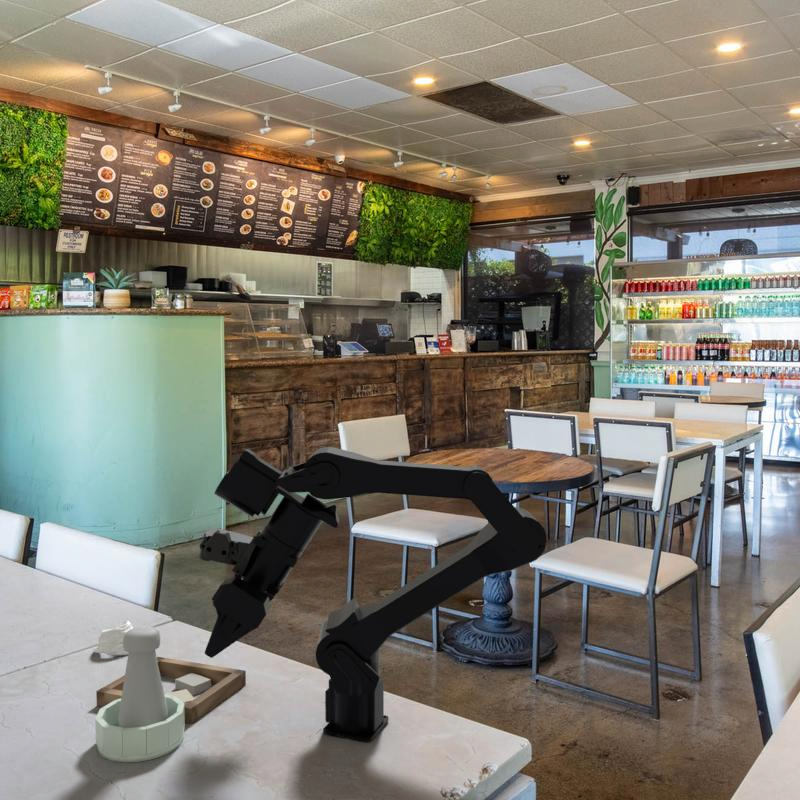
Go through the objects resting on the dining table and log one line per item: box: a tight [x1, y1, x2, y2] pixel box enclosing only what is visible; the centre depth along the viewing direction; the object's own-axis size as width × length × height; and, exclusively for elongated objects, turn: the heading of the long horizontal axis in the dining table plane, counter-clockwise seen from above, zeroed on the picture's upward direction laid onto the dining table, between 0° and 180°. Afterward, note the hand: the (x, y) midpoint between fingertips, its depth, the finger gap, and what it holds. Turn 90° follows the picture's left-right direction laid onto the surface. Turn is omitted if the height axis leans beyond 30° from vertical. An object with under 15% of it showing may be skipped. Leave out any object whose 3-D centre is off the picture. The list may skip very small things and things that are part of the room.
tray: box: [96, 656, 247, 725], centre depth 111 cm, size 15×13×2 cm
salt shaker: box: [118, 625, 168, 728], centre depth 97 cm, size 6×6×13 cm
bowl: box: [94, 693, 186, 763], centre depth 97 cm, size 10×10×4 cm
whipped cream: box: [93, 620, 134, 656], centre depth 127 cm, size 8×7×5 cm
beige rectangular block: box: [164, 689, 196, 703], centre depth 107 cm, size 4×3×2 cm
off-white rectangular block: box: [174, 673, 212, 696], centre depth 113 cm, size 4×3×2 cm
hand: (216, 643), depth 100 cm, fingers open, 9 cm apart
